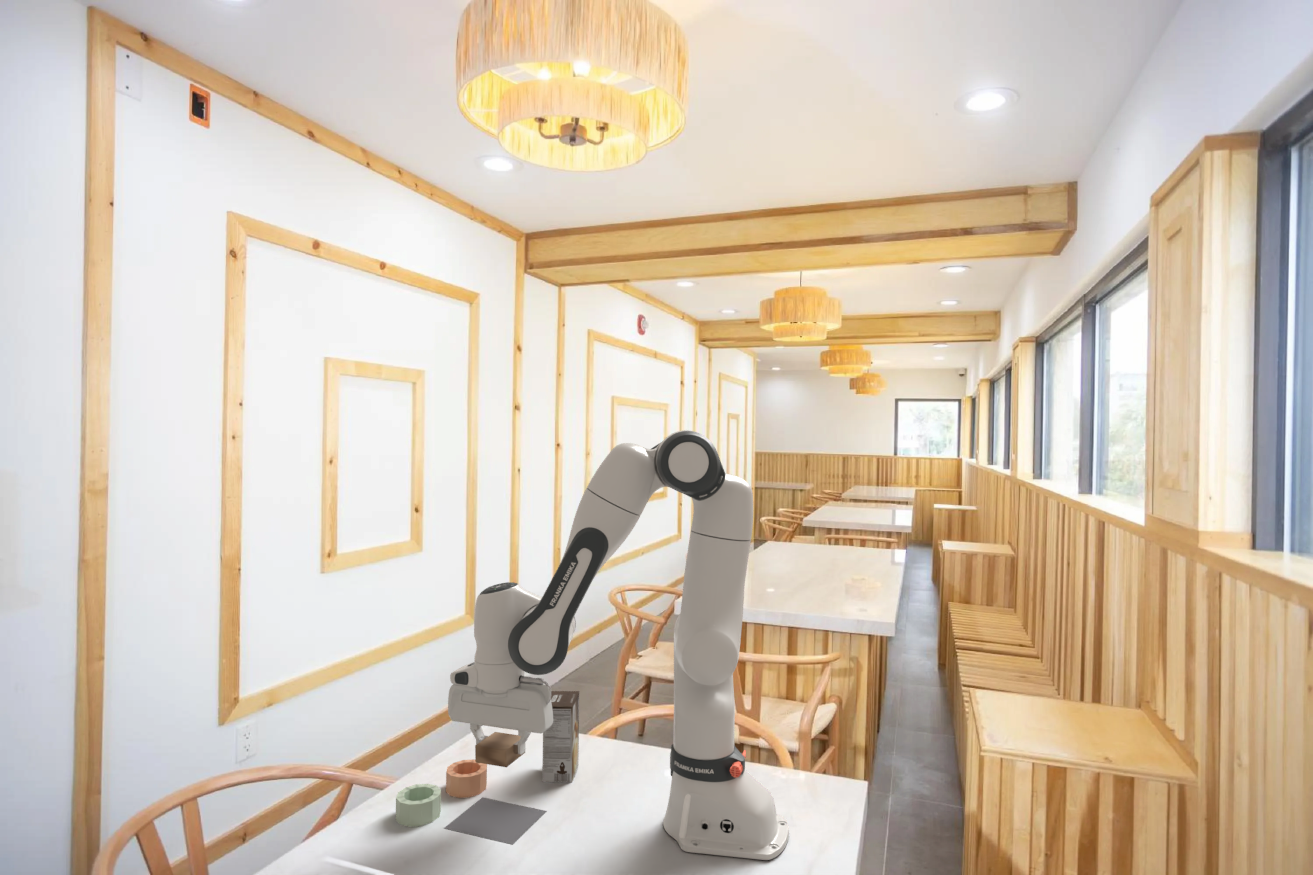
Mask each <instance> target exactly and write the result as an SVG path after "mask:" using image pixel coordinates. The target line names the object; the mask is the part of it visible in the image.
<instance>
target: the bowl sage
mask: <svg viewBox="0 0 1313 875" xmlns="http://www.w3.org/2000/svg"><path fill="white" fill-rule="evenodd" d="M441 811H442V789H441V788H440V787H439V786H438V785H436V784H431V783H417V784H413V785H409V786H405V787H404V788H403V789H401V790H400V791H397V795H396V797H395V821H396V823H398V824H399V826H404V827H409V828H411V827H412V828H413V827H422V826H426V825H428V824H431V823H433V822H435V821H436V820H438V818H439V817H440V816H441Z"/></svg>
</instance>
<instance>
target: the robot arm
mask: <svg viewBox="0 0 1313 875" xmlns="http://www.w3.org/2000/svg"><path fill="white" fill-rule="evenodd" d="M661 488H670V489H672V490H674V491H676V492H679V493H680V494H683V495H684V496H687V497H689V498H691V500H692V504H693V505H692V506H693V514H692V516H693V517H692V520H691V528H690V533H689V534H690V535H689V540H688V547H687V553H686V560H685V567H684V574H683V586H682V587H683V588H682V595H681V604H680V606H681V607H680V613H679V614H678V616H677V617H676V620H675V622H674V627H673V737H672V738H673V739H672V740H673V743H672V744H671V746H670V753H669V754H670V755H669V768H670V777H671V784H670V790H669V797H668V802H667V807H666V811H665V814H664V817H663V822H662V825H663V828H664V830H665V831H666V833H667V834H668V835H669V836H671V838H672V839H674V840H675V841H676V842H677V843H678V845H679V847H680V849H681V850H682V851H683V852H686V853H694V854H695V853H696V854H702V855H703V854H706V855H714V856H724V857H732V858H733V857H734V858H741V859H742V858H744V859H751V860H752V859H753V860H763V861H768V860H770V861H771V860H772V859H773V860H774V859H775V858H776V857H779V855H780V854H782V852H783V851H784V850H785V848H786V846H787V843H788V841H789V837H790V827H789V823H788V821H787V818H785V816H783V815H781V814H778V813H777V810H776V809H777V808H776V802H775V800H774V796H773V794H772V792H771V791H770V790H769V789H768V788H767V787H766V786H765V785H763V783H761V781H759V780H757V779H756V778H755V777H754V776H753V775H752V774H751V773H750V772H749V771H748V770H746V757H747V756H746V755H747V753H746V752H747V750H746V749H744V750H743V752H740V750H739V749H738V748H737V747H736V745H735V718H736V717H735V714H736V712H735V710H736V708H735V707H736V703H735V702H736V701H735V692H734V690H735V689H734V672H735V671H736V668H737V666H738V662H739V658H740V651H741V650H740V649H741V648H740V647H741V638H742V627H743V618H744V617H743V615H744V603H745V602H744V600H745V584H746V576H747V570H748V563H749V556H750V549H751V542H752V534H753V526H754V524H753V523H754V495H753V494H754V493H753V489H752V486H751V485H750V483H749V482H747V481H746V480H745V479H744V478H741V476H738V475H735V474H731V473H730V474H729V473H727V472H726V471H725V469H724V466H723V464H722V462H721V459H720V455H719V454H718V450H717V449H716V447H715V445H714V444H713V443H712V441H711V440H710V439H709V438H708V437H707V436H705V435H703V434H702V433H700V432H697V431H693V430H689V429H685V430H678V431H675V432H673V433H671V434H669V435H667V437H665V438H664V439H663V440H662V441H660V443H658V444H656V445H655V446H653V447H652V448H651V447H650V448H646V447H643V446H641V445H639V444H637V443H631V442H624V443H619V444H617V445H616V446H614V447H613V448H612V449H611V451H610V452H609V453H608V454H607V456H605V458H604V460H602V462H601V463H600V465H599V467H597V470H596V471H595V472H594V475H593V476H592V478H591V479H590V481H589V483H588V485H587V487H586V489H585V490H584V493H583V494H582V495H581V496H582V497H581V499H580V501H579V504H578V506H577V509H576V512H575V515H574V518H573V521H572V522H573V523H572V525H571V530H570V533H569V536H568V540H567V544H566V547H565V551H564V553H563V557H562V559H561V560H560V563H559V565H558V567H557V569H556V570H555V573H554V574H553V576H552V578H551V581H550V582H549V584H548V586H547V587H546V589H545V592H543V595H542V596H540V595H539V594H535V593H533V592H531V591H529V590H527V589H526V588H525V587H523V586H521V584H520V583H517V582H514V581H513V582H509V581H507V582H502V583H498V584H494V585H490V586H488V587H487V588H485V589H483V590H482V591H481V592H480V593H479V594H478V596H477V598H476V602H475V607H474V622H473V636H474V639H475V644H476V649H475V654H474V661H472V662H470V663H468V664H466V665H464V666H461V667H459V668H457V669H456V670H453V671H452V672H451V673H450V675H449V680H450V683H451V684H452V685H451V686H450V687H449V690H448V697H447V699H448V700H447V714H448V716H449V718H450V720H451V721H452V722H457V723H464V724H469V729H470V731H471V734H472V735H473V737H474V738H475V745H477V744H478V743H480V742H481V741H483V740H484V739H485V738H487V737H488V736H489V735H485V733H484V731H483V729H482V726H484V727H485V726H487V727H493V728H497V729H498V728H500V729H506V730H513V731H518V732H517V733H518V734H517V735H519V736H521V738H520V740H519V741H517V743H515V744H513V748H514V750H513V752H514V754H521V755H522V754H523V753H524V752H525V753H526V742H527V741H528V739H529V737H530V735H531V734H532V733H534V734H543V732H545V731H546V730H547V729H549V728H550V727H551V725H552V724H553V710H552V703H551V691H552V687H551V685H550V684H549V683H548V682H547V681H545V680H544V678H542V677H533V676H532V677H531V676H527V675H526V676H525V673H528V674H529V675H534V676H541V675H548V674H550V673H552V672H554V671H556V670H557V669H558V668H559V667H560V666H561V665H562V664H563V663H564V661H565V660H566V657H567V654H568V650H569V646H570V644H571V641H572V639H573V636H574V634H575V632H576V627H577V626H576V624H577V622H576V617H575V615H576V613H577V611H578V609H579V607H580V606H581V604H582V602H583V599H584V598H585V596H586V594H587V592H588V590H589V588H590V586H591V584H592V582H593V581H594V579H595V578H596V576H597V575H598V573H599V572H600V570H601V569H602V568H603V566H604V565H605V564H606V563H607V561H609V559H610V558H611V557H613V555H614V554H615V553H616V551H618V550H619V548H620V547H621V546H622V544H624V542H625V541H626V539H627V538H628V537H629V535H630V534H631V532H632V531H633V529H634V528H635V527H636V525H637V523H638V521H639V519H640V518H641V515H642V514H643V512H644V509H645V508H646V506H647V504H648V502H649V501H650V499H651V498H652V496H653V495H654V493H655V492H656V491H658V490H659V489H661ZM525 753H524V754H525ZM524 754H523V755H524ZM523 755H522V756H523Z"/></svg>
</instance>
